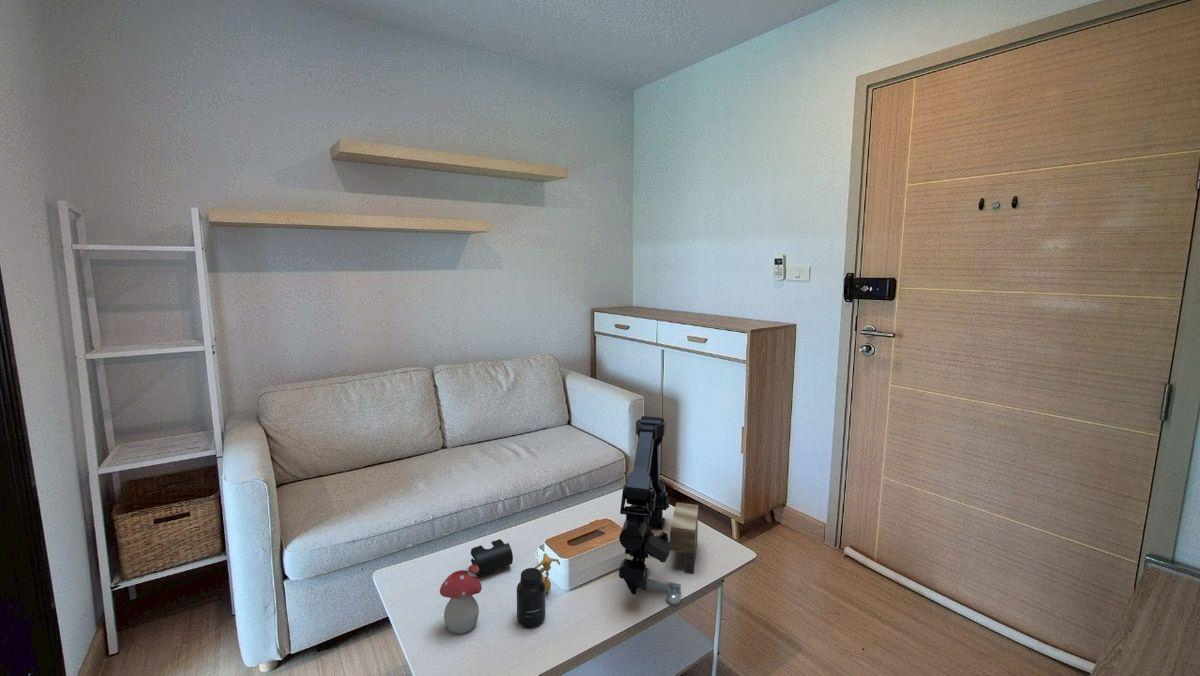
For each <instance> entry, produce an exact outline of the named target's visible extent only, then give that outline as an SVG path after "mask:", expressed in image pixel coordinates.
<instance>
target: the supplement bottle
mask: <svg viewBox="0 0 1200 676" xmlns="http://www.w3.org/2000/svg"><path fill="white" fill-rule="evenodd" d="M519 580H520V581H519V582H518V584H517V586H516V620H517V622H518V624H519V625H520V626H522V627H523V628H527V629H528V628H529V629H532V628H537V627H539V626H540V625H541V624H543V623H544V621H545V619H546V593H545V584H544V582H543V581H542V580H541V572H540V569H538V568H534V567H528V568H525V569H523V570H522V571H521V573H520V579H519Z"/></svg>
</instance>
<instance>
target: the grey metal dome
mask: <svg viewBox="0 0 1200 676" xmlns="http://www.w3.org/2000/svg"><path fill="white" fill-rule="evenodd" d="M681 597H682V596H681V593H680V592H679V591H677V590H668V591H667V592H665V601H666V603H667V604H668V605H669V606H672V607H678V606H679V605H680V604H681V600H682V599H681Z"/></svg>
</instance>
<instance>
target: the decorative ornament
mask: <svg viewBox="0 0 1200 676" xmlns="http://www.w3.org/2000/svg"><path fill="white" fill-rule="evenodd" d="M478 572H479V567H478V566H476V565H473V564H471V565H470V566H468V570H466V569H465V570H464V569H461V570H456V571H454V572H452V573H451V574H449V575H448V576H447V578H446V579H444V580H443V582H442V584H441V585H440V588H439V594H440V596H441V597H444V598H449V600H448V602H447V604H446V605H445V608H444V612H443V618H444V623H445V626H446V629H447V630H448V631H449V632H451V633H453V634H466V633H468V632H470V631H473V630H474V628H476V625H477V622H478V619H479V614H480V610H479V604H478V601H477V600H476V598H475V597H474V596H473V595H477V594H480V593H481V591H482V588H483V586H482V583H481V581H480V579H479V578H478V577H477V576H476V575H475V574H477V573H478Z"/></svg>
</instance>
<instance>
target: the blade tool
mask: <svg viewBox="0 0 1200 676" xmlns="http://www.w3.org/2000/svg"><path fill="white" fill-rule="evenodd" d="M648 576H649V568H648V567H646V574H645V577H644V580H643V581H639V584H638V588H637V590H642V591H647V590H650V591H651V590H652V591H657V592H662V593H663V592H664V593H666V592H667V591H668V590H677V591H679V592H680V594H681V591H682V590H681V589H682V584H681V583H676V582H669V581H665V580H659V579H651V578H649V577H648Z"/></svg>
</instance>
